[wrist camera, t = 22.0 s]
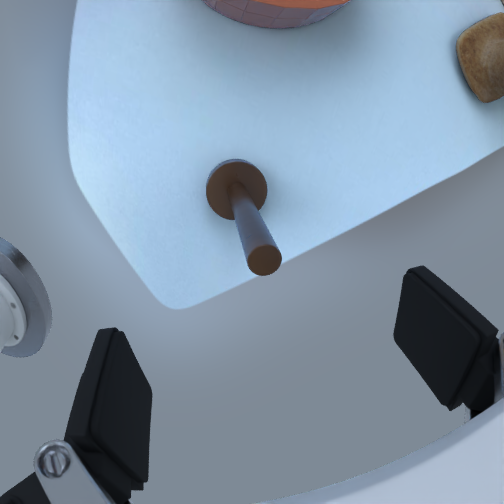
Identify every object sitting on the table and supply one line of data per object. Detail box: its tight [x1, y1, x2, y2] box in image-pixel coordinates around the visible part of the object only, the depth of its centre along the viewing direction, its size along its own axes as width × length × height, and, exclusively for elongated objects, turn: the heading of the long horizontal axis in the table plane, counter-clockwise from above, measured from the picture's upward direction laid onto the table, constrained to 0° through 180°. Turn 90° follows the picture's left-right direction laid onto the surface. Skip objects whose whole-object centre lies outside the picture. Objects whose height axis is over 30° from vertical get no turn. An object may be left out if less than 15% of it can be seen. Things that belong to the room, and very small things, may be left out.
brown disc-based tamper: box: [206, 159, 282, 276], centre depth 20 cm, size 5×5×15 cm
